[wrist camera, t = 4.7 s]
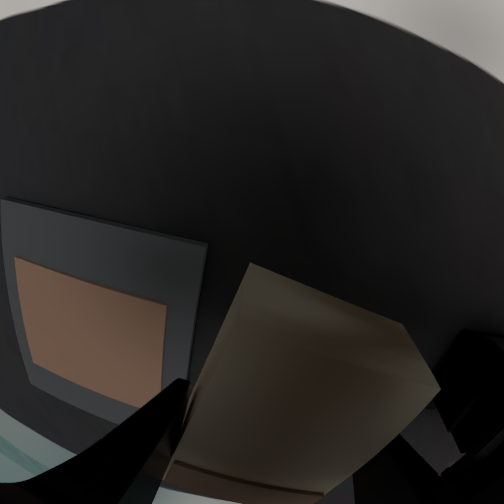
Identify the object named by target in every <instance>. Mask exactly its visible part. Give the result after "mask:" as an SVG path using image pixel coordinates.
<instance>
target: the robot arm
mask: <svg viewBox="0 0 504 504" xmlns="http://www.w3.org/2000/svg"><path fill="white" fill-rule="evenodd" d="M464 338H465V339H464ZM435 379H436V381H437V383H438V385H439V386H440V388H441V390H440V391H439V392H438V393H437V394H436V396H435V397H434V398H433V399H432V400H431V401H430V402H429V403H428V405H427V406H426V407H425V408H424V409H431V408H437V410H438V412H439V414H440V416H441V418H442V420H443V422H444V424H445V426H446V428H447V431H448V432H451V433H452V435H453V437H454V440H455V442H456V444H457V446H458V448H459V451H460V453H466V454H465V455H464V456H463V457H462V458H460V459H459V460H458V461H457V462H456V463H455V464H453V465H452V466H451V467H448V468H447V469H445V470H444V471H443V472H442V473H441V476H438V473H437V472H436V471H435V470H434V469H433V468H432V467H431V466H430V465H429V464H428V463H427V462H426V461H425V460H424V459H423V458H422V457H421V456H420V455H419V454H418V453H417V452H416V451H415V450H414V449H413V448H412V446H411V445H410V444H409V443H408V442H407V441H406V440H405V439H404V438H403V437H402V436H401V435H400V434H398V435H397V436H396V437H395V438H394V439H393V440H392V441H391V442H390V443H389V444H387V445H386V446H385V447H384V448H383V449H382V450H381V451H380V452H379V453H377V454H376V455H375V456H374V457H373V458H372V459H370V460H369V461H368V462H367V463H366V464H364V465H363V466H362V467H361V468H359V469H358V470H357V471H356V472H354V473H353V474H352V475H353V486H354V497H355V504H504V336H503V335H495V334H488V333H481V332H475V331H468V330H465V331H463V332H461V333H460V334H459V336H458V337H457V339H456V341H455V343H454V345H453V346H452V348H451V350H450V352H449V353H448V355H447V357H446V359H445V360H444V362H443V364H442V365H441V367H440V369H439V370H438V372H437V374H436V375H435ZM190 388H191V382H190V381H189V380H186V379H182V378H177V379H175V380H174V381H173V382H172V383H171V384H169V385H168V386H167V387H166V388H164V389H163V390H162V391H161V392H160V393H158V394H157V395H156V396H155V397H153V398H152V399H151V400H150V401H148V402H147V403H146V404H145V405H143V406H142V407H141V408H140V409H138V410H137V411H136V412H135V413H133V414H132V415H131V416H129V417H128V418H127V419H126V420H124V421H123V422H122V423H120V424H119V425H118V426H117V427H115V428H114V429H113V430H111V431H110V432H109V433H107V434H106V435H105V436H103V439H102V438H101V439H99V440H98V441H97V442H95V443H94V444H93V445H91V446H90V447H88V448H87V449H85V450H84V451H83V452H81V453H80V454H78V455H76V456H74V457H73V458H71V459H69V460H67V461H66V462H64V463H62V464H60V465H58V466H56V467H54V468H52V469H50V470H48V471H46V472H44V473H42V474H40V475H38V476H35V477H33V478H31V479H28V480H25V481H22V482H16V483H0V504H152V502H153V500H154V498H155V495H156V493H157V491H158V488H159V486H160V484H161V481H162V479H163V477H164V474H165V472H166V470H167V467H168V465H169V463H170V460H171V458H172V455H173V453H174V450H175V447H176V444H177V441H178V438H179V435H180V432H181V428H182V425H183V421H184V417H185V413H186V410H187V406H188V402H189V396H190Z"/></svg>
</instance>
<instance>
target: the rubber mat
mask: <svg viewBox="0 0 504 504" xmlns="http://www.w3.org/2000/svg"><path fill="white" fill-rule="evenodd" d="M1 231H2V246H3V257H4V266H5V274H6V282H7V288H8V295H9V300H10V306H11V311H12V316H13V321H14V325H15V330H16V334H17V338H18V342H19V346H20V350H21V354H22V357H23V361H24V364H25V367H26V371H27V374H28V377H29V380H30V383H31V384H32V385H34V386H36V387H38V388H39V389H41V390H43V391H45V392H47V393H49V394H51V395H53V396H55V397H57V398H59V399H61V400H63V401H65V402H67V403H69V404H71V405H73V406H76V407H78V408H80V409H82V410H84V411H87V412H89V413H91V414H94V415H96V416H98V417H101V418H103V419H106V420H108V421H111V422H114V423H116V424H120V423H122V422H123V421H124V420H126V419H127V418H128V417H129V416H131V415H132V414H133V413H135V412H136V411H137V410H138V409H140V408H141V407H142V406H143V405H145V404H146V403H147V402H148V401H150V400H151V399H152V398H153V397H155V396H156V395H157V394H158V393H160V392H161V391H162V390H163V389H164V388H166V387H167V386H168V385H169V384H171V383H172V382H173V381H174V380H175V379H177V378H182V379H186V380H188V373H189V366H190V358H191V351H192V344H193V337H194V330H195V323H196V316H197V310H198V303H199V297H200V291H201V285H202V279H203V273H204V267H205V261H206V255H207V249H208V244H209V243H204V242H200V241H195V240H191V239H187V238H182V237H178V236H174V235H169V234H165V233H161V232H156V231H152V230H147V229H143V228H139V227H134V226H130V225H126V224H121V223H117V222H113V221H108V220H104V219H100V218H95V217H91V216H87V215H82V214H78V213H74V212H69V211H65V210H61V209H56V208H52V207H47V206H43V205H39V204H35V203H30V202H26V201H22V200H17V199H13V198H9V197H5V198H2V199H1Z"/></svg>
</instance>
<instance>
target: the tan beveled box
mask: <svg viewBox="0 0 504 504" xmlns="http://www.w3.org/2000/svg"><path fill="white" fill-rule="evenodd" d="M440 390H441V388H440V386H439V385H438V383H437V381H436V379H435V377H434V376H433V374H432V372H431V370H430V369H429V367H428V365H427V364H426V362H425V360H424V359H423V357H422V355H421V354H420V352H419V350H418V349H417V347H416V345H415V344H414V342H413V340H412V339H411V337H410V336H409V334H408V332H407V331H406V329H405V328H404V326H403V324H401V323H398V322H396V321H393V320H391V319H388V318H386V317H383V316H381V315H378V314H376V313H373V312H371V311H368V310H366V309H363V308H361V307H358V306H356V305H353V304H351V303H348V302H346V301H343V300H341V299H338V298H336V297H333V296H331V295H328V294H326V293H324V292H321V291H319V290H316V289H314V288H311V287H309V286H306V285H304V284H301V283H299V282H297V281H294V280H292V279H289V278H287V277H284V276H282V275H279V274H277V273H275V272H272V271H270V270H267V269H265V268H262V267H260V266H258V265H255V264H253V263H250V264H249V266H248V268H247V271H246V273H245V275H244V277H243V280H242V282H241V284H240V286H239V289H238V291H237V293H236V295H235V298H234V300H233V302H232V304H231V307H230V309H229V311H228V313H227V315H226V318H225V320H224V322H223V324H222V327H221V329H220V331H219V333H218V336H217V338H216V340H215V342H214V344H213V347H212V349H211V351H210V353H209V356H208V358H207V360H206V362H205V365H204V367H203V369H202V371H201V373H200V376H199V378H198V380H197V382H196V385H195V387H194V389H193V391H192V394H191V396H190V398H189V402H188V406H187V410H186V413H185V417H184V421H183V425H182V428H181V432H180V435H179V438H178V441H177V444H176V447H175V450H174V453H173V455H172V458H171V460H170V463H169V465H168V467H167V470H166V472H165V474H164V477H163V479H162V480H164V482H166V483H169V484H172V485H175V486H178V487H181V488H184V489H187V490H191V491H194V492H197V493H201V494H204V495H208V496H212V497H216V498H220V499H224V500H228V501H232V502H237V503H242V504H314V503H315V502H317V501H318V500H320V499H321V498H323V497H324V495H325V494H326V493H327V492H329V491H330V490H332V489H333V488H334V487H336V486H337V485H339V484H340V483H341V482H343V481H344V480H345V479H347V478H348V477H349V476H351V475H352V474H353V473H354V472H356V471H357V470H358V469H359V468H361V467H362V466H363V465H364V464H366V463H367V462H368V461H369V460H370V459H372V458H373V457H374V456H375V455H376V454H377V453H379V452H380V451H381V450H382V449H383V448H384V447H385V446H386V445H387V444H389V443H390V442H391V441H392V440H393V439H394V438H395V437H396V436H397V435H398V434H399V433H400V432H401V431H402V430H403V429H404V428H405V427H406V426H407V425H408V424H409V423H410V422H411V421H412V420H413V419H414V418H415V417H416V416H417V415H418V414H419V413H420V412H421V411H422V410H423V409H424V408H425V407H426V406H427V405H428V403H429V402H430V401H431V400H432V399H433V398H434V397H435V396H436V394H437V393H438V392H439V391H440Z"/></svg>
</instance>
